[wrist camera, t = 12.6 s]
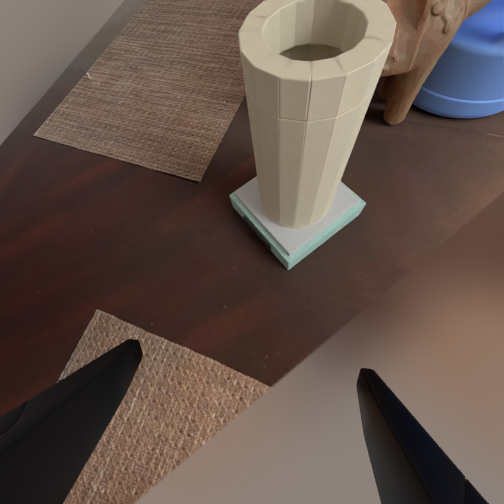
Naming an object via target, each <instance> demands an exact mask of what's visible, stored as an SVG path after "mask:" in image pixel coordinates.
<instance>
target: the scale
mask: <svg viewBox="0 0 504 504" xmlns="http://www.w3.org/2000/svg"><path fill="white" fill-rule="evenodd" d="M229 197H230V200H231V202H232V205H233V207H234V209H235V210H236V211H237V212H238V213H239V214H240V215H241V217H242V218H243V219H244V222H245V223H246V224H247V225H248V227H249V228H250V229H251V230H252V231H253V232H254V233H255V235H256V236H257V237H258V238H259V239H260V240H261V242H262V243H263V244H264V245H265V246H266V247H267V249H268V250H271V251H272V252H273V254H274V255H275V256H276V257H277V258H278V259H279V261H280V262H281V263H282V264H283V265H284V266H285V267H286V269H287V270H289V269H291V268H292V267H293V266H294V265H296V264H297V263H298V262H299V261H301V260H302V259H303V258H305V257H306V256H307V255H308V254H310V253H311V252H312V251H314V250H315V249H316V248H317V247H319V246H320V245H321V244H322V243H324V242H325V241H326V240H328V239H329V238H330V237H331V236H333V235H334V234H335V233H337V232H338V231H339V230H340V229H342V228H343V227H344V226H345V225H347V224H348V223H349V222H351V221H352V220H353V219H354V218H356V217H357V216H358V215H359V214H360V212H361V211H362V209H363V208H364V206H365V204H366V203H365V202H364V201H363V200H362V199H361V198H360V197H358V196H357V195H356V194H355V193H354V192H353V191H351V190H350V189H349V188H348V187H347V186H346V185H344V184H343V183H342V182H341V181H340V183H339V186H338V188H337V191H336V193H335V196H334V199H333V201H332V204H331V207H330V208H329V210H328V212H327V213H326V215H325V216H324V217H323V218H322V219H321V220H320V221H319V222H317V223H315V224H314V225H311V226H309V227H305V228H298V229H293V228H286V227H283V226H280V225H278V224H276V223H274V222H273V221H272V220H270V219H269V217H268V216H267V215H266V214H265V212H264V210H263V208H262V205H261V199H260V192H259V185H258V178H257V176H256V177H255V178H253V179H252V180H250V181H249V182H248V183H246V184H245V185H243V186H242V187H240V188H239V189H238V190H236V191H235V192H233V193H232V194H230V195H229Z"/></svg>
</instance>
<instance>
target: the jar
mask: <svg viewBox="0 0 504 504" xmlns="http://www.w3.org/2000/svg"><path fill="white" fill-rule="evenodd" d="M396 24H397V22H396V21H395V19H394V17H393V15H392V13H391V11H390V9H389V7H388V5H387V4H386V3H385V2H383V1H382V0H265V1H263V2H262V3H261V4H260V5H258V6H257V7H256V8H255V9H254V10H252V11H251V12H250V13H249V14H248V16H247V17H246V19H245V21H244V23H243V24H242V26H241V28H240V30H239V33H238V38H239V48H240V56H241V63H242V70H243V78H244V85H245V92H246V99H247V106H248V114H249V121H250V128H251V135H252V142H253V149H254V156H255V164H256V171H257V178H258V185H259V192H260V199H261V205H262V208H263V210H264V212H265V214H266V215H267V216H268V217H269V219H270V220H272V221H273V222H274V223H276V224H278V225H280V226H283V227H286V228H293V229H298V228H305V227H309V226H311V225H314V224H315V223H317V222H319V221H320V220H321V219H322V218H323V217H324V216H325V215H326V213H327V212H328V210H329V208H330V207H331V204H332V201H333V199H334V196H335V193H336V191H337V188H338V186H339V183H340V180H341V178H342V175H343V172H344V170H345V167H346V164H347V162H348V159H349V156H350V154H351V151H352V149H353V146H354V143H355V141H356V138H357V135H358V133H359V130H360V127H361V125H362V122H363V119H364V117H365V114H366V112H367V109H368V106H369V104H370V101H371V98H372V96H373V93H374V90H375V87H376V85H377V83H378V80H379V77H380V75H381V72H382V69H383V67H384V64H385V61H386V59H387V56H388V54H389V51H390V48H391V46H392V43H393V39H394V34H395V29H396Z"/></svg>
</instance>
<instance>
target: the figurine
mask: <svg viewBox="0 0 504 504" xmlns="http://www.w3.org/2000/svg"><path fill="white" fill-rule="evenodd" d="M382 1H383V2H385V3H386V4H387V5H388V7H389V9H390V11H391V13H392V15H393V17H394V19H395V21H396V22H397V24H396V29H395V34H394V39H393V43H392V46H391V48H390V51H389V54H388V56H387V59H386V61H385V64H384V67H383V69H382V72H381V75H380V77H382V76H383V78H382V81H381V83H380V86H379V96H380V97H381V98H382V99H383V100H384V101H386V102H387V103H386V106H385V109H384V115H383V118H384V120H385V121H386V122H387V123H388V124H390V125H391V124H392V125H396V124H398V123H401V122H402V121H403V120H404V118H405V117H406V115H407V113H408V111H409V109H410V107H411V105H412V102H413V101H414V99H415V97H416V95H417V94H418V92H419V91H420V88H421V86H422V85H423V83H424V82H425V80H426V79H427V77H428V76H429V74H430V72H431V71H432V69H433V68H434V66H435V64H436V63H437V61H438V59H439V58H440V57H441V55H442V54H443V53H444V51H445V50H446V48H447V47H448V45H449V44H450V42H451V40H452V39H453V37H454V36H455V34H456V32H457V30H458V29H459V28H460V26H461V24H462V23H463V21H464V20H466V19H467V18H469V17H470V16H472V15H473V14H475V13H476V12H478V11H480V10H481V9H482V8H483V7H484V6H486V5H487V4H488V3H489V2H491V1H492V0H382Z"/></svg>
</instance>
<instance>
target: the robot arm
mask: <svg viewBox="0 0 504 504" xmlns="http://www.w3.org/2000/svg"><path fill="white" fill-rule="evenodd" d="M142 356H143V353H142V349H141V346H140V342H139V341H138V340H134V339H128V340H126V341H125V342H123V343H121V344H120V345H118V346H116V347H115V348H113V349H111V350H110V351H108V352H107V353H105V354H103V355H102V356H100V357H98V358H97V359H95V360H93V361H92V362H90V363H89V364H87V365H85V366H84V367H82V368H80V369H79V370H77V371H76V372H74V373H72V374H71V375H69V376H67V377H66V378H64V379H62V380H61V381H59V382H58V383H56V384H54V385H53V386H51V387H49V388H48V389H46V390H44V391H43V392H41V393H40V394H38V395H36V396H35V397H33V398H31V399H30V400H29V401H27V402H25V403H23V404H21V405H20V406H18V407H17V408H15V409H13V410H12V411H10V412H8V413H7V414H5V415H3V416H2V417H0V504H63V502H64V501H65V499H66V497H67V495H68V494H69V492H70V490H71V488H72V487H73V485H74V483H75V482H76V480H77V478H78V476H79V475H80V473H81V471H82V469H83V468H84V466H85V464H86V462H87V461H88V459H89V457H90V456H91V454H92V452H93V450H94V449H95V447H96V445H97V443H98V442H99V440H100V438H101V436H102V435H103V433H104V431H105V429H106V428H107V426H108V424H109V423H110V421H111V419H112V417H113V416H114V414H115V412H116V410H117V409H118V407H119V405H120V403H121V402H122V400H123V398H124V396H125V394H126V392H127V390H128V388H129V386H130V384H131V382H132V379H133V377H134V375H135V373H136V371H137V369H138V366H139V364H140V362H141V360H142ZM357 393H358V399H359V406H360V412H361V419H362V426H363V432H364V436H365V441H366V445H367V449H368V453H369V457H370V461H371V464H372V469H373V473H374V477H375V480H376V484H377V488H378V492H379V496H380V500H381V504H489V503H487V501H486V500H485V499H484V498H483V497H482V496H481V495H480V493H479V492H478V491H477V490H476V489H475V488H474V486H473V485H472V484H471V483H470V482H469V480H467V479H465V476H464V475H463V474H462V472H461V471H460V470H459V469H458V468H457V467H456V465H455V464H454V463H453V462H452V461H451V460H450V458H449V457H448V456H447V455H446V454H445V453H444V451H443V450H442V449H441V448H440V447H439V446H438V444H437V443H436V442H435V441H434V440H433V439H432V437H431V436H430V435H429V434H428V433H427V432H426V430H425V429H424V428H423V427H422V426H421V425H420V424H419V422H418V421H417V420H416V419H415V418H414V416H413V415H412V414H411V413H410V412H409V411H408V409H407V408H406V407H405V406H404V405H403V404H402V402H401V401H400V400H399V399H398V398H397V397H396V395H395V394H394V393H393V392H392V391H391V390H390V388H389V387H388V386H387V385H386V384H385V383H384V381H383V380H382V379H381V378H380V377H379V376H378V374H377V373H376V372H375V371H374V370H372V369H366V368H362V369H361V370H360V373H359V377H358V380H357Z"/></svg>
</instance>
